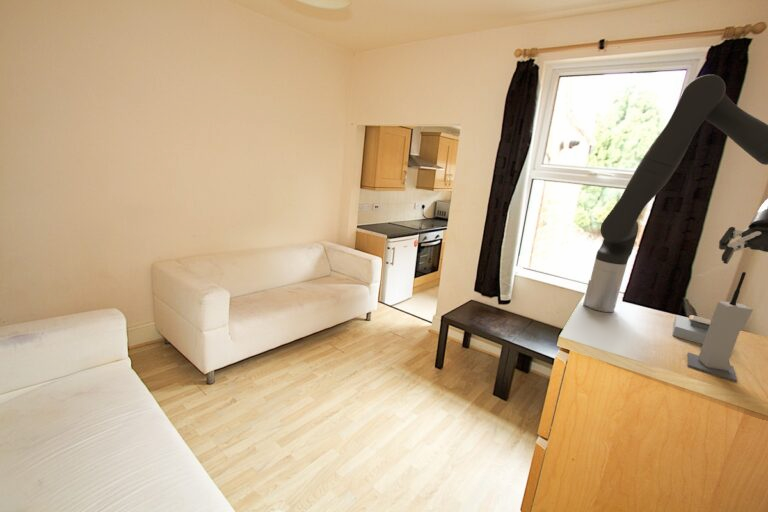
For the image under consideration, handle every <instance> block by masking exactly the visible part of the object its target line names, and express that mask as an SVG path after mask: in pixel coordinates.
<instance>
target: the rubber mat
mask: <svg viewBox="0 0 768 512" xmlns="http://www.w3.org/2000/svg"><path fill="white" fill-rule="evenodd" d="M686 355H687V356H686V357H687V367H689V368H692V369H695V370H697V371H700V372H703V373H707V374H709V373H710V374H709V375H712V374H713V376H715V375H716V377H719V378H722V377H723V378H722V379H725V380H728V381H730V382H731V381H732V382H734V383H737V381H738V380H737V375H736V372H735V368H734V365H731V364H730V366H731V369H730V371H724V370H719V369H713V368H708V367H706V366H705V365H703V364H702V363H701V362H700V361H699V360H698V357H699V354H695V353H691V352H687V354H686Z"/></svg>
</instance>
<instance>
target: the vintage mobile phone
mask: <svg viewBox="0 0 768 512" xmlns="http://www.w3.org/2000/svg"><path fill="white" fill-rule="evenodd" d="M746 274H747V273H746V272H745V271H743V272H742V273H741V276H740V278H739V281H738V284H737V286H736V289H735V291H734V292H733V295H732V298H731V301H724V300H719V301H717V304H716V306H715V308H714V311H713V315H712V318H711V319H710V320H711V323H710V326H709V329H708V331H707V334H706V337H705V340H704V343H703V344H702V346H701V349H700V352H699V354H698V355H699V357H698V360H699V361H700V362H701V363H702V364H703V365H705V366H706V367H708V368H713V369H719V370H724V371H730V369H731V366H732V365H731V362H730V358H731V356H732V353H733V350H734V347H735V346H736V343H737V340H738V337H739V335H740V333H741V331H743V329H745V327H746V325H747V322H748V321H749V319H750V317H751V315H752V313H753V310H754V309H753V308H751V307H749V306H747V305H745V304H743V303H737V301H738V298H739V295H740V292H741V289H742V288H741V287H742V285H743V282H744V280H745V277H746ZM730 365H731V366H730Z"/></svg>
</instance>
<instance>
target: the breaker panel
mask: <svg viewBox="0 0 768 512" xmlns="http://www.w3.org/2000/svg"><path fill="white" fill-rule="evenodd" d="M709 326H710V324H707V323H704V322H700V321H696V320H692V319H689V317H687V316H682V315H679V314H676V315H675V318H674V321H673V325H672V336H674V337H677V338H679V339H680V338H681V339H683V340H687V341H690V342H694V343H697V344H701V345H703V343H704V340H705V337H706V334H707V331H708V329H709Z"/></svg>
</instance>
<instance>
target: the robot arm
mask: <svg viewBox="0 0 768 512" xmlns="http://www.w3.org/2000/svg"><path fill="white" fill-rule="evenodd" d="M726 88H727V86H726V82H725V81H724V79H723V78H721V76H719V75H716V74H705V75H704V74H703V75H701V76H698V77H696V78H695V79H693V80H692V81H690V82H689V83H687V84H686V86H685V87H684V89H683V90H682V93H681V96H680V98H679V100H678V102H677V105H676V107H675V108H674V110H673V113H672V114H671V116H670V118H669V119H668V122H667V123H666V125H665V127H664V128H663V129H662V131H661V132H660V133H659V134H658V136H657V137H656V138H655V139H654V141H653V143H652V144H651V145H650V147H649V148H648V149H647V150H646V152H645V154H644V155H643V157H642V158H641V160H640V162H639V164H638V165H637V167H636V168H635V171H634V173H633V174H632V176H631V178H630V180H629V182H628V183H627V185H626V187H625V189H624V191H623V193H622V194H621V196H620V198H619V199H618V201H617V202H616V204H615V205H614V206H613V208H612V209H611V210H610V212H609V213H608V214H607V215H606V217H605V218H604V220H603V221H602V222H601V224H600V234H601V237H602V238H603V240H602V244H601V246H600V247H599V249H598V250H597V252H596V256H595V259H594V265H593V269H592V270H591V271H592V272H591V274H590V275H591V276H590V279H589V280H588V283H587V286H586V291H585V295H584V299H583V303H582V305H583V306H586V307H587V308H590V309H592V310H595V311H598V312H605V313H613V312H614V311H615V310H616V309H615V308H616V307H617V302H618V297H619V294H620V289H621V287H622V282H623V280H624V275H625V272H626V269H627V265H628V262H629V259H630V257H631V256H632V252H633V250H634V246H635V243H636V241H637V240H636V239H637V236H638V234H639V223H638V221H637V220H638V219H639V217H640V215H641V213H642V212H643V210H644V209H645V207H646V206H647V205H648V204H649V202H650V201H652V200H653V198H655V197H656V195H658V193H659V192H660V191H661V190H662V189H663V188H664V187H665V185H666V184H667V183H668V182H669V181H670V179H671V177H672V176H673V174H674V173H675V172H676V170H677V168H678V167H679V165H680V163H681V161H682V160H683V158H684V157H685V154H686V153H687V151H688V148H689V146H690V144H691V142H692V140H693V138H694V137H695V134H696V133H697V131H698V130H699V128H700V126H701V125H702V124H703V122H704V121H707V122H708V123H709V124H711V125H713V126H714V127H716V128H717V129H718V130H720V131H721V132H722V133H724V134H725V135H726V136H727V137H728V138H729V139H730V140H731V141H732V142H734V143H735V144H736V145H737V146H738V147H740V148H741V149H742V150H743V151H744V152H745V153H747V154H748V155H749V156H751V157H752V158H753V159H755V161H757V162H758V163H760V164H761V165H764V166H765V165H766V166H767V165H768V124H767V123H766V122H763V121H762V120H761V119H759V118H757V117H755V116H753V115H751V114H749V113H748V112H747V111H745V110H743V109H742V108H741V107H739V106H738V105H737V104H735V103H734V102H733V100H732V99H731V98H729V96H728V95H727V94H726V91H727V90H726ZM738 237H740V238H738ZM737 238H738V239H737ZM735 239H736V240H735ZM732 240H735V241H733V242H731V241H732ZM749 248H750V249H749ZM718 249H719V250H724V251H723V253H722V254H721V261H722V262H723V264H726V265H727V264H728V263H729V262H730V260H731V258H732V257H733V255H734V253H736V252H738V251H744V250H746V249H749V250H753V251H761V252H764V253H768V196H766V198H765V200H764V202H763V203H762V204H761V206H759V208H758V210H757V211H756V213H755V214H754V216H753V218H752V220H751V222H750V223H749V226H748V227H747V228H746V229H744V230H737V229H736V227H734V226H730V227H729V228H727V230H726V231H725V233H724V234H723V235H722V237H721V238H720V240H719V241H718Z"/></svg>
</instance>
